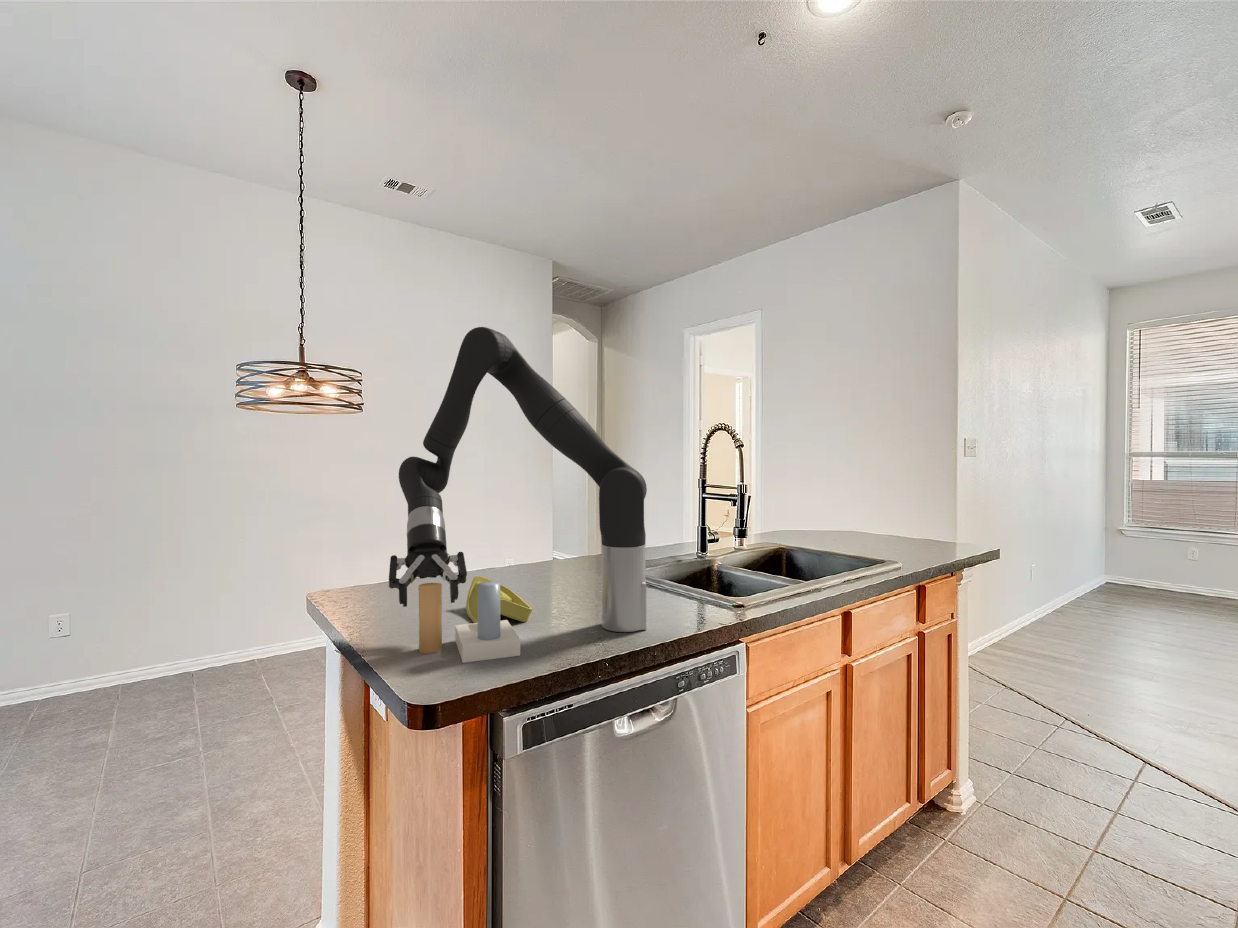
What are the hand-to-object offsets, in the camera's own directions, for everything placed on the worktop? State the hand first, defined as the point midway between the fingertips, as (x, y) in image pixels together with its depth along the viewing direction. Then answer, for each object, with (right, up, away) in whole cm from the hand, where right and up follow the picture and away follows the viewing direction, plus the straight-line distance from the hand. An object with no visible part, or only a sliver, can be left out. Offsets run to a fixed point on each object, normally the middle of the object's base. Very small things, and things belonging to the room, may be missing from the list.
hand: (429, 602), depth 108 cm
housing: (+11, -8, -1) cm, 14 cm away
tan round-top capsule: (+1, -8, -2) cm, 9 cm away
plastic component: (+8, -9, +22) cm, 25 cm away
